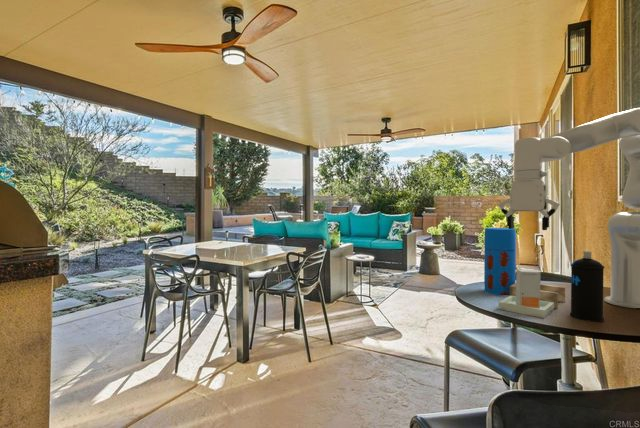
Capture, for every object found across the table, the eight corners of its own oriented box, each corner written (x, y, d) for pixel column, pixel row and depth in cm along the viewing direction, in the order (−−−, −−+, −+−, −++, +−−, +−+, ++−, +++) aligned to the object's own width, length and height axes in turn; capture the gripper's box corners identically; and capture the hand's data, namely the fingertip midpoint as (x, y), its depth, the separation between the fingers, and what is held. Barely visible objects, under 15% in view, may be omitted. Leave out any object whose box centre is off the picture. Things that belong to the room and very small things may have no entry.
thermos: (519, 296, 129) (520, 229, 129) (488, 295, 131) (489, 229, 131) (509, 289, 140) (510, 227, 139) (481, 288, 142) (481, 227, 141)
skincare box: (519, 308, 111) (519, 271, 111) (515, 304, 116) (515, 269, 115) (540, 309, 110) (541, 272, 110) (535, 305, 114) (536, 269, 114)
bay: (565, 301, 122) (565, 287, 122) (557, 308, 114) (557, 293, 113) (519, 294, 132) (519, 281, 132) (509, 300, 124) (509, 286, 124)
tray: (554, 309, 112) (554, 302, 112) (544, 318, 104) (544, 310, 104) (510, 301, 122) (510, 295, 122) (498, 309, 113) (498, 302, 113)
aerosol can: (604, 317, 105) (605, 251, 104) (603, 323, 99) (604, 254, 98) (571, 311, 110) (572, 249, 110) (568, 317, 104) (568, 251, 104)
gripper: (562, 175, 109) (561, 229, 109) (502, 178, 121) (502, 227, 121) (556, 174, 103) (556, 231, 104) (495, 177, 116) (495, 228, 116)
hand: (527, 229), depth 112 cm, fingers open, 9 cm apart
